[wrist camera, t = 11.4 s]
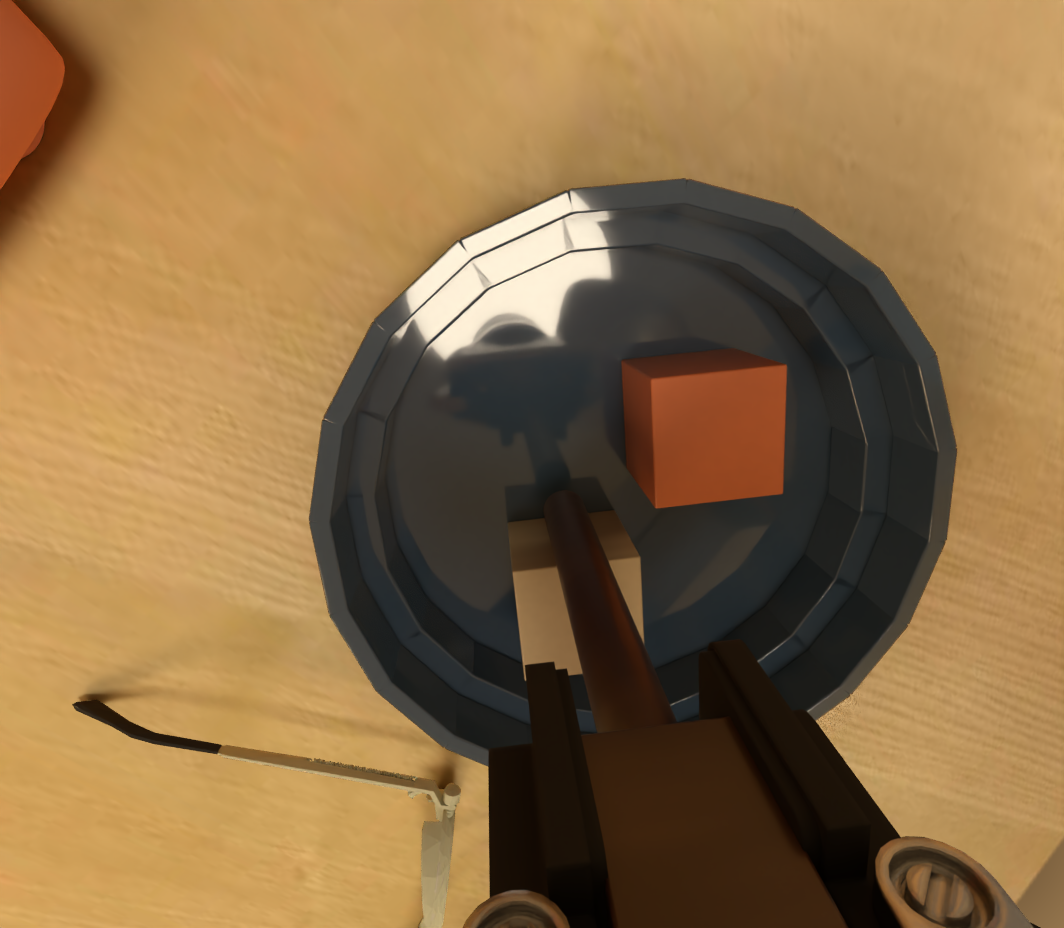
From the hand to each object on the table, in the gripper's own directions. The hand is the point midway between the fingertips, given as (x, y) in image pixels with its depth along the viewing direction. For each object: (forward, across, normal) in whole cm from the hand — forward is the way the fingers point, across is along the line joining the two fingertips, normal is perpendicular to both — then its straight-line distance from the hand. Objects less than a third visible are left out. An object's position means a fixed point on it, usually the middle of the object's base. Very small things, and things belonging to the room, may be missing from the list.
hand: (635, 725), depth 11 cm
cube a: (+12, -4, -3) cm, 13 cm away
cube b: (+12, 0, +3) cm, 13 cm away
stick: (+11, 0, 0) cm, 11 cm away
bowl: (+13, -2, 0) cm, 13 cm away
